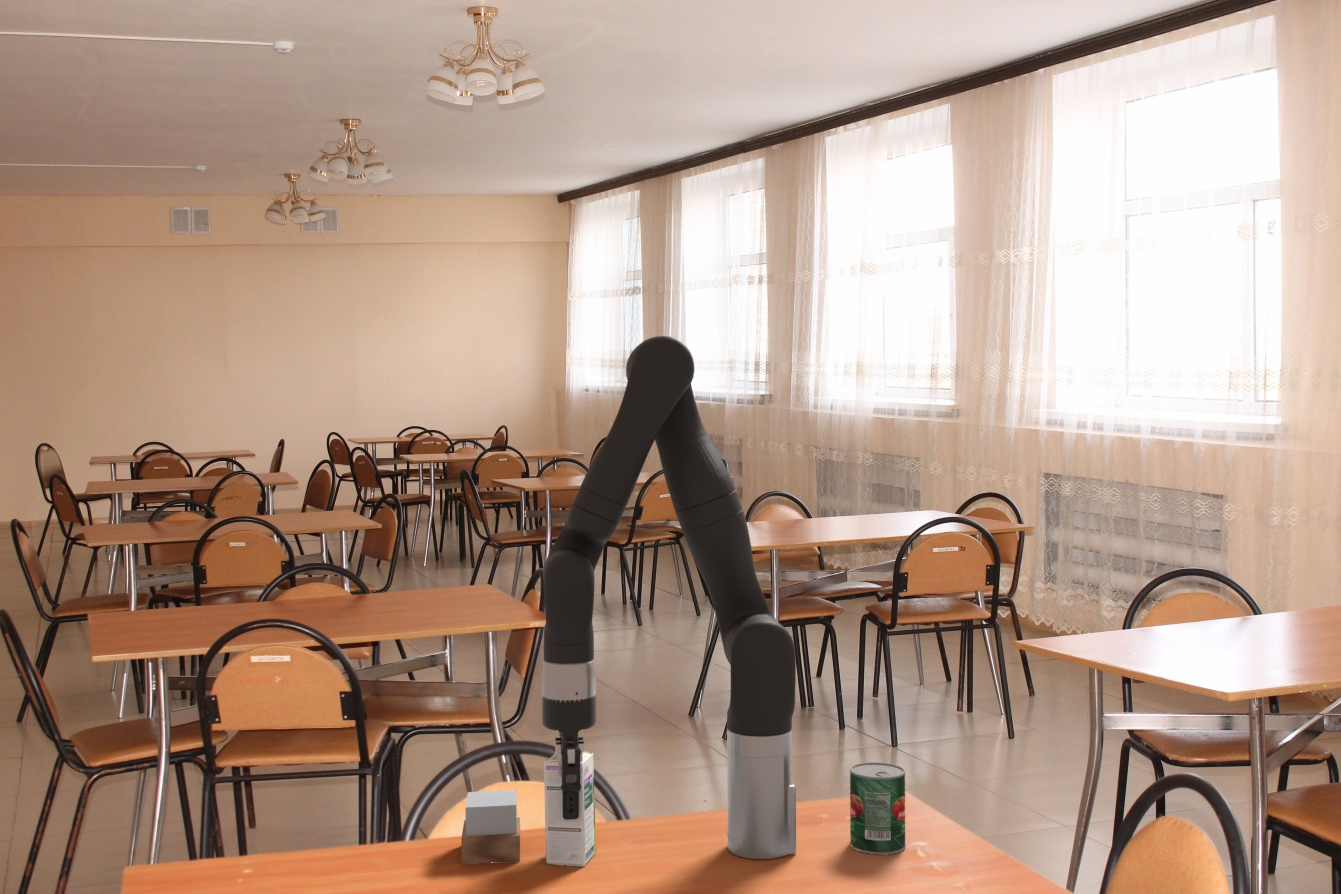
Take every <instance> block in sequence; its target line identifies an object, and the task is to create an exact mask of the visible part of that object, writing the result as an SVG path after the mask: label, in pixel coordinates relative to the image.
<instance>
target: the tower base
mask: <svg viewBox="0 0 1341 894" xmlns="http://www.w3.org/2000/svg"><path fill="white" fill-rule="evenodd" d="M460 845H461V865H462V864H469V865H474V864H473V863H488V864H492V863H491V862H508V863H518V862H517V861H520V862H521V817H518V816H517V833H515V834H496V835H477V836H466V819H464V821H463V826H462V833H461V844H460Z"/></svg>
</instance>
